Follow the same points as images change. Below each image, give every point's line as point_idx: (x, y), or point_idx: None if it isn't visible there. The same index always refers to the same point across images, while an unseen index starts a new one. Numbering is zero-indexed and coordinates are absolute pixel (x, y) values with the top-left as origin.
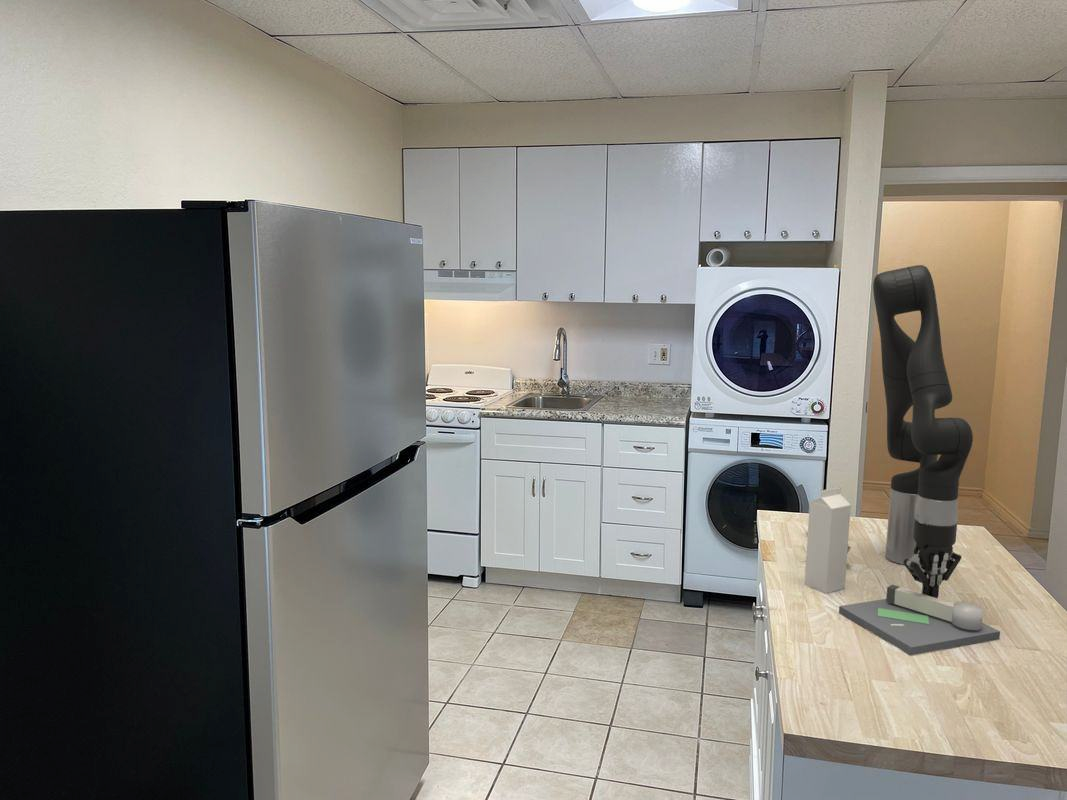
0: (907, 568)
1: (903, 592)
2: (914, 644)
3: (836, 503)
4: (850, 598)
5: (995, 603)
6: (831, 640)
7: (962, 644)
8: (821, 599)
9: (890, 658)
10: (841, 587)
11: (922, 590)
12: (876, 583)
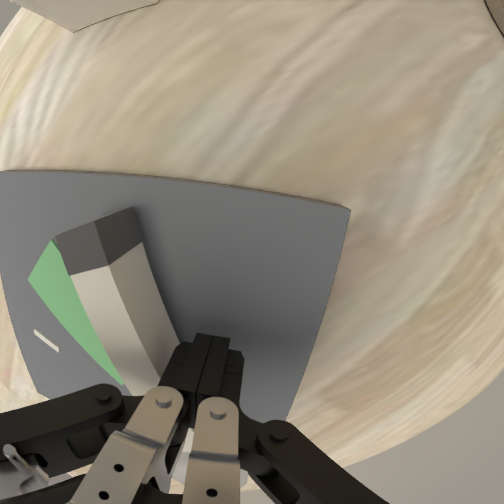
0: (9, 414)
1: (87, 313)
2: (46, 392)
3: None
4: (98, 76)
5: (475, 327)
6: None
7: None
8: (35, 71)
9: (17, 365)
10: (136, 5)
11: (167, 366)
12: (323, 10)
